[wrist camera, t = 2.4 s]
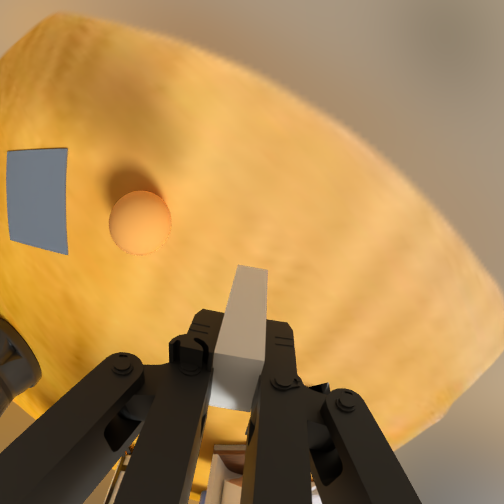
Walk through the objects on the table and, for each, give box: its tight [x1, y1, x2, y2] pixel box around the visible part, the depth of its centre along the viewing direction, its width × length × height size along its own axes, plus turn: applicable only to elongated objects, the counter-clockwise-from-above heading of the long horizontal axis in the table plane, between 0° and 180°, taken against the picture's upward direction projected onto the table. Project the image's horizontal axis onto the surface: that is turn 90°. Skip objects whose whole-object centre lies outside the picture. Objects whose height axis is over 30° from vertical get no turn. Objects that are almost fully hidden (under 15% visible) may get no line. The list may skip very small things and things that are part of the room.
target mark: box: [6, 149, 68, 255], centre depth 24 cm, size 12×12×1 cm
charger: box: [311, 482, 322, 504], centre depth 43 cm, size 5×9×15 cm
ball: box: [109, 191, 171, 255], centre depth 22 cm, size 6×6×6 cm
